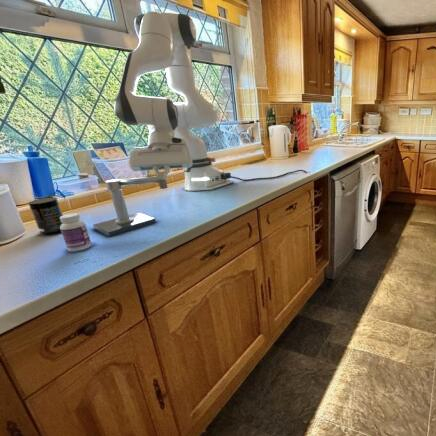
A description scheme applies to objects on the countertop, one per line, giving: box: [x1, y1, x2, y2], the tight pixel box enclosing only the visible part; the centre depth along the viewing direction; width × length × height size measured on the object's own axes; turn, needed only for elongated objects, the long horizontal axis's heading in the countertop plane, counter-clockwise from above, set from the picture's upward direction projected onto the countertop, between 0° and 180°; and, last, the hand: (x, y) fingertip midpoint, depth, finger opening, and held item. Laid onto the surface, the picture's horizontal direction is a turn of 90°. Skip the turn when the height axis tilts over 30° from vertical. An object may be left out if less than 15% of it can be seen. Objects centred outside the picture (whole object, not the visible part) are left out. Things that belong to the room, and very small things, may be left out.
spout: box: [105, 176, 169, 192], centre depth 97 cm, size 17×4×4 cm, turn 105°
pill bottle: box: [60, 212, 92, 252], centre depth 83 cm, size 5×5×10 cm
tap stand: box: [92, 188, 157, 237], centre depth 98 cm, size 14×12×12 cm
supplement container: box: [28, 197, 64, 236], centre depth 95 cm, size 7×7×10 cm
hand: (161, 178), depth 105 cm, fingers closed
